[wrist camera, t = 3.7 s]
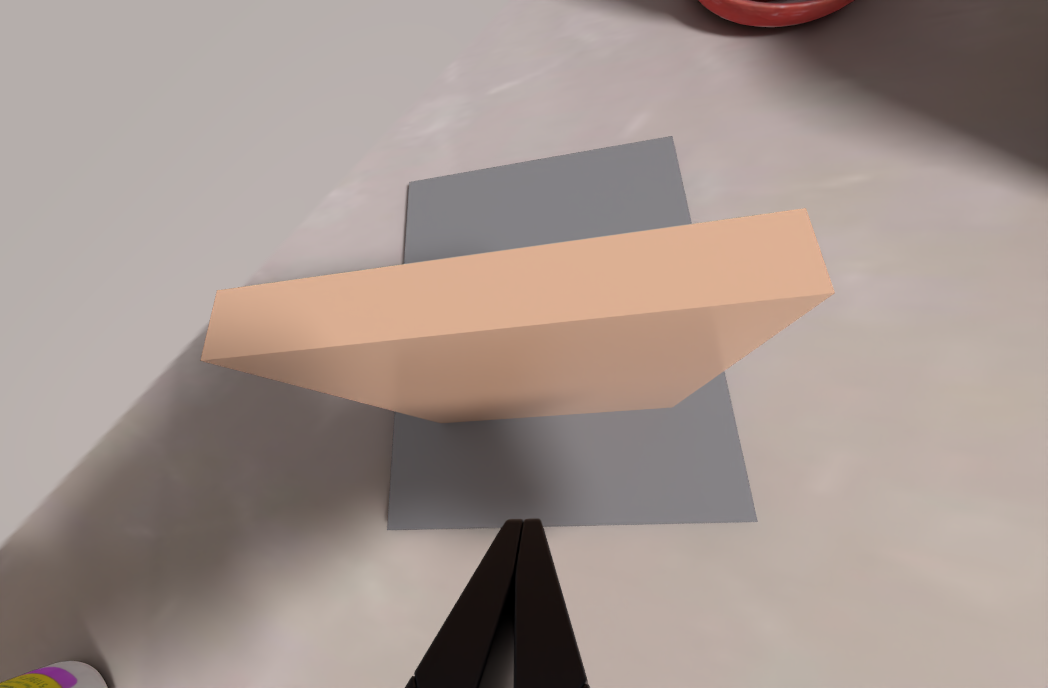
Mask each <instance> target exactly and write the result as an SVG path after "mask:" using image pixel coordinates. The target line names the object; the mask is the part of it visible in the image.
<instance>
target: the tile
mask: <svg viewBox="0 0 1048 688" xmlns="http://www.w3.org/2000/svg"><path fill="white" fill-rule="evenodd" d="M834 293H835V292H834V289H833V286H832V283H831V280H830V277H829V274H828V271H827V269H826V266H825V263H824V260H823V257H822V254H821V251H820V248H819V245H818V242H817V239H816V236H815V233H814V230H813V227H812V224H811V222H810V219H809V216H808V213H807V210H806V208H804V209H797V210H789V211H782V212H775V213H766V214H759V215H752V216H745V217H738V218H731V219H723V220H716V221H709V222H702V223H695V224H688V225H680V226H673V227H666V228H659V229H652V230H645V231H637V232H630V233H623V234H616V235H609V236H602V237H595V238H587V239H580V240H573V241H566V242H559V243H552V244H544V245H537V246H530V247H523V248H516V249H509V250H501V251H494V252H487V253H480V254H473V255H466V256H459V257H451V258H444V259H437V260H430V261H423V262H416V263H408V264H401V265H394V266H387V267H380V268H373V269H365V270H358V271H351V272H344V273H337V274H330V275H322V276H315V277H308V278H301V279H294V280H287V281H280V282H272V283H265V284H258V285H251V286H244V287H238V288H231V289H224V290H217V293H216V297H215V301H214V305H213V309H212V313H211V318H210V322H209V326H208V330H207V335H206V339H205V343H204V347H203V351H202V356H201V360H200V361H203V362H207V363H211V364H215V365H219V366H222V367H226V368H230V369H234V370H238V371H242V372H245V373H249V374H253V375H257V376H261V377H265V378H268V379H272V380H276V381H280V382H284V383H288V384H292V385H295V386H299V387H303V388H307V389H311V390H315V391H318V392H322V393H326V394H330V395H334V396H338V397H341V398H345V399H349V400H353V401H357V402H361V403H364V404H368V405H372V406H376V407H380V408H384V409H387V410H391V411H395V412H399V413H403V414H407V415H411V416H414V417H418V418H422V419H426V420H430V421H434V422H437V423H453V422H468V421H483V420H497V419H512V418H526V417H541V416H556V415H570V414H585V413H600V412H614V411H629V410H643V409H658V408H672V407H674V406H675V405H677V404H678V403H679V402H681V401H682V400H684V399H685V398H687V397H688V396H689V395H691V394H692V393H694V392H695V391H696V390H698V389H699V388H701V387H702V386H704V385H705V384H706V383H708V382H709V381H711V380H712V379H713V378H715V377H716V376H718V375H719V374H721V373H722V372H723V371H725V370H726V369H728V368H729V367H731V366H732V365H733V364H735V363H736V362H738V361H739V360H740V359H742V358H743V357H745V356H746V355H748V354H749V353H750V352H752V351H753V350H755V349H756V348H758V347H759V346H760V345H762V344H763V343H765V342H766V341H767V340H769V339H770V338H772V337H773V336H775V335H776V334H777V333H779V332H780V331H782V330H783V329H784V328H786V327H787V326H789V325H790V324H792V323H793V322H794V321H796V320H797V319H799V318H800V317H802V316H803V315H804V314H806V313H807V312H809V311H810V310H811V309H813V308H814V307H816V306H817V305H819V304H820V303H821V302H823V301H824V300H826V299H827V298H829V297H830V296H831V295H833V294H834Z"/></svg>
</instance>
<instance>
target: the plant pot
mask: <svg viewBox="0 0 1048 688" xmlns="http://www.w3.org/2000/svg"><path fill="white" fill-rule="evenodd" d="M699 1H700V3H701V4H702V5H704V6H705V7H706V8H707V9H708V10H710V11H711V12H713V13H715V14H716V15H718V16H720V17H722V18H724V19H727V20H729V21H732V22H736V23H739V24H744V25H750V26H758V27H783V26H790V25H796V24H801V23H805V22H809V21H812V20H815V19H818V18H821V17H824V16H826V15H828V14H831V13H833V12H835V11H837V10H839V9H841V8H843V7H844V6H846V5H848V4H849V3H851V2H852V1H854V0H699Z"/></svg>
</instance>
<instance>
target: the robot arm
mask: <svg viewBox="0 0 1048 688" xmlns="http://www.w3.org/2000/svg"><path fill="white" fill-rule="evenodd" d="M414 674H415V676H412V677H411V678H410V680H409V682H408V683H407V685H406V687H405V688H590V686H589V685H588V681H587V677H586V673H585V670H584V666H583V663H582V659H581V656H580V652H579V649H578V646H577V642H576V639H575V635H574V632H573V628H572V625H571V621H570V618H569V614H568V611H567V608H566V604H565V601H564V597H563V594H562V590H561V587H560V583H559V580H558V576H557V573H556V570H555V566H554V563H553V559H552V556H551V552H550V549H549V545H548V542H547V538H546V535H545V532H544V528H543V525H542V521H541V520H540V519H539V518H532V519H525V520H524V521H523V519H508V520H506V521H505V523H504V524H503V526H502V528H501V529H500V531H499V533H498V534H497V536H496V538H495V539H494V541H493V542H492V544H491V546H490V547H489V549H488V551H487V552H486V554H485V556H484V557H483V559H482V561H481V562H480V564H479V566H478V567H477V569H476V571H475V572H474V574H473V576H472V577H471V579H470V581H469V582H468V584H467V586H466V587H465V589H464V591H463V592H462V594H461V596H460V597H459V599H458V601H457V602H456V604H455V606H454V607H453V609H452V611H451V612H450V614H449V616H448V617H447V619H446V621H445V622H444V624H443V626H442V627H441V629H440V631H439V632H438V634H437V636H436V637H435V639H434V641H433V642H432V644H431V645H430V647H429V649H428V650H427V652H426V654H425V655H424V657H423V659H422V660H421V662H420V664H419V665H418V667H417V669H416V670H415V673H414Z"/></svg>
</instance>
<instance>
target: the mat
mask: <svg viewBox="0 0 1048 688" xmlns="http://www.w3.org/2000/svg"><path fill="white" fill-rule="evenodd" d="M688 224H692V223H691V218H690V214H689V209H688V205H687V200H686V196H685V191H684V187H683V182H682V178H681V173H680V169H679V164H678V160H677V155H676V151H675V146H674V141H673V137H672V136H669V137H664V138H658V139H652V140H646V141H641V142H635V143H629V144H624V145H618V146H612V147H607V148H601V149H595V150H589V151H584V152H578V153H572V154H567V155H561V156H555V157H550V158H544V159H538V160H532V161H527V162H521V163H515V164H510V165H504V166H498V167H493V168H487V169H481V170H475V171H470V172H464V173H458V174H453V175H447V176H441V177H436V178H430V179H424V180H418V181H413V182H409V194H408V210H407V226H406V242H405V258H404V264H408V263H416V262H423V261H430V260H437V259H444V258H451V257H459V256H466V255H473V254H480V253H487V252H494V251H501V250H509V249H516V248H523V247H530V246H537V245H544V244H552V243H559V242H566V241H573V240H580V239H587V238H595V237H602V236H609V235H616V234H623V233H630V232H637V231H645V230H652V229H659V228H666V227H673V226H680V225H688ZM532 518H539V519H540V520H541V521H542V525H543V527H551V526H596V525H640V524H684V523H728V522H758V521H757V517H756V512H755V508H754V503H753V499H752V494H751V490H750V485H749V481H748V476H747V471H746V467H745V462H744V458H743V453H742V449H741V444H740V440H739V435H738V431H737V426H736V422H735V417H734V413H733V408H732V404H731V399H730V395H729V390H728V386H727V381H726V377H725V372H724V371H723V372H722V373H721V374H719V375H718V376H716V377H715V378H713V379H712V380H711V381H709V382H708V383H706V384H705V385H704V386H702V387H701V388H699V389H698V390H696V391H695V392H694V393H692V394H691V395H689V396H688V397H687V398H685V399H684V400H682V401H681V402H679V403H678V404H677V405H675V406H674V407H672V408H658V409H643V410H629V411H614V412H600V413H585V414H570V415H556V416H541V417H526V418H512V419H497V420H483V421H468V422H453V423H437V422H434V421H430V420H426V419H422V418H418V417H414V416H411V415H407V414H403V413H399V412H395V415H394V431H393V447H392V463H391V478H390V494H389V510H388V526H387V530H419V529H463V528H502V526H503V524H504V523H505V521H506V520H508V519H523V521H524V520H525V519H532Z"/></svg>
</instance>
